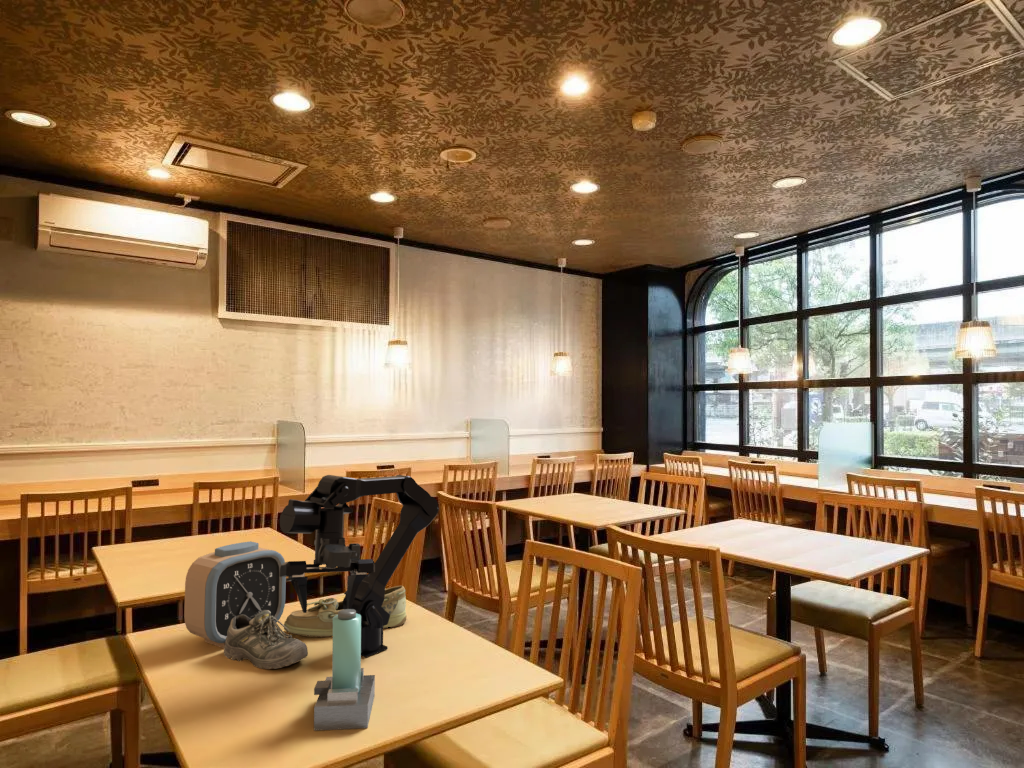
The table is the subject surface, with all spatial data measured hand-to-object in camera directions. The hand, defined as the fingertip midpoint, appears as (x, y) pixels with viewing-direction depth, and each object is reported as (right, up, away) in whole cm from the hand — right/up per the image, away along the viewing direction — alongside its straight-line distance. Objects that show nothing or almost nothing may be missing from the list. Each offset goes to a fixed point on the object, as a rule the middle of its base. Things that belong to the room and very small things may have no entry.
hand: (327, 611), depth 132 cm
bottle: (+8, -9, -16) cm, 20 cm away
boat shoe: (-3, -14, +26) cm, 30 cm away
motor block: (+8, -13, -16) cm, 22 cm away
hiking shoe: (-16, -13, +7) cm, 22 cm away
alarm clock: (-27, -13, +19) cm, 36 cm away
